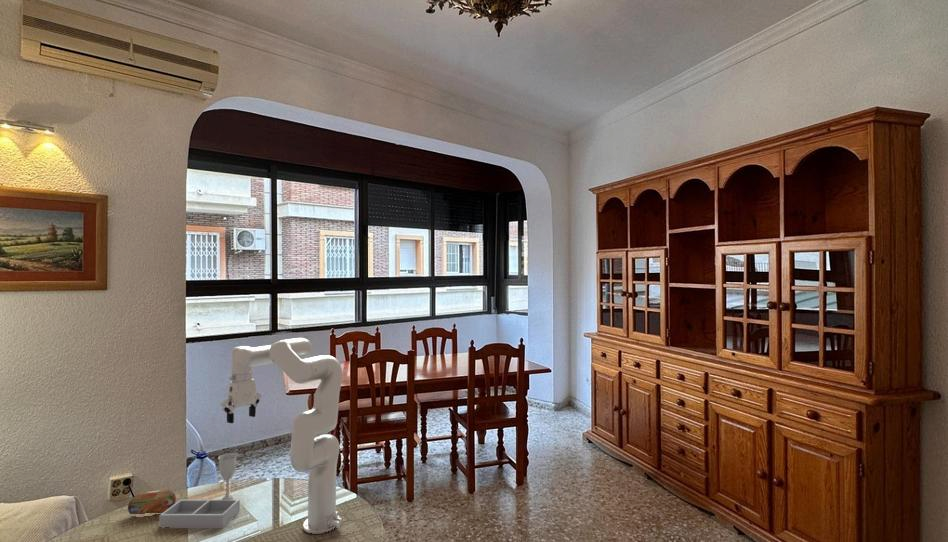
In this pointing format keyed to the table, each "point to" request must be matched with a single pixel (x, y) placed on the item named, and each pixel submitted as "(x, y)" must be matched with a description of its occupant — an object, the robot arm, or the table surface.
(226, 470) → the chalice
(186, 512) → the holder
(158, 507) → the tin
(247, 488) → the table surface
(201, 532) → the table surface
